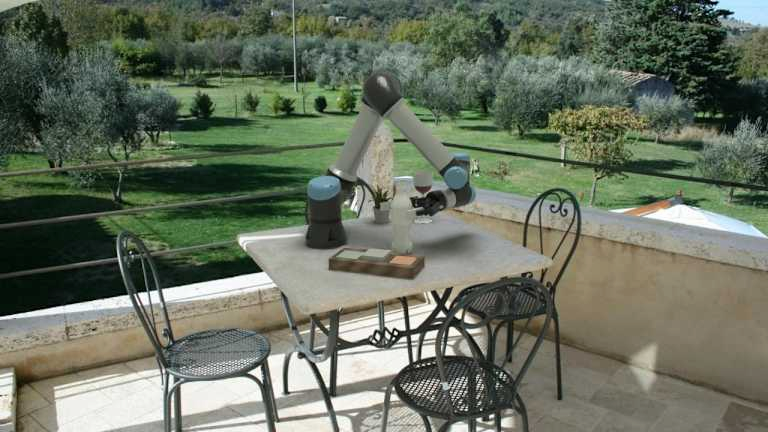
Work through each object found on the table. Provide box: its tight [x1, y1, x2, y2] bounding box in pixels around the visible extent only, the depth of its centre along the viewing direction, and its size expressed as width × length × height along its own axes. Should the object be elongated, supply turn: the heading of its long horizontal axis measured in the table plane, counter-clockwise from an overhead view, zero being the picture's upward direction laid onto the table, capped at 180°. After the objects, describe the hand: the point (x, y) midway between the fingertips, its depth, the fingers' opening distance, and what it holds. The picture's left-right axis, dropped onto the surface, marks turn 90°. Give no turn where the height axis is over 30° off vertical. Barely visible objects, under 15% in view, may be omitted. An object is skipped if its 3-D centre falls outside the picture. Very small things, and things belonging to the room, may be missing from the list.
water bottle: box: [390, 180, 413, 254], centre depth 207 cm, size 7×7×25 cm
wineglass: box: [412, 169, 434, 224], centre depth 246 cm, size 8×9×20 cm
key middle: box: [362, 248, 392, 262], centre depth 195 cm, size 7×7×3 cm
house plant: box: [366, 183, 396, 224], centre depth 247 cm, size 14×14×16 cm
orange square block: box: [389, 255, 418, 265], centre depth 193 cm, size 7×7×3 cm
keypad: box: [327, 247, 426, 280], centre depth 196 cm, size 28×12×4 cm, turn 69°
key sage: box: [336, 250, 365, 260], centre depth 199 cm, size 7×7×3 cm
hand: (393, 211), depth 204 cm, fingers open, 13 cm apart
